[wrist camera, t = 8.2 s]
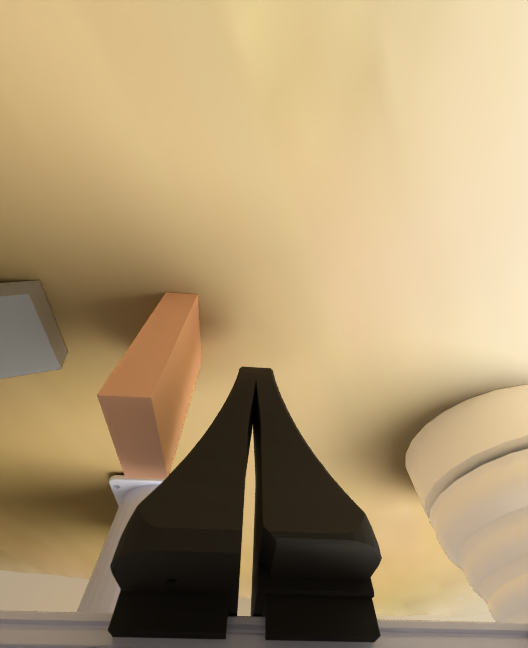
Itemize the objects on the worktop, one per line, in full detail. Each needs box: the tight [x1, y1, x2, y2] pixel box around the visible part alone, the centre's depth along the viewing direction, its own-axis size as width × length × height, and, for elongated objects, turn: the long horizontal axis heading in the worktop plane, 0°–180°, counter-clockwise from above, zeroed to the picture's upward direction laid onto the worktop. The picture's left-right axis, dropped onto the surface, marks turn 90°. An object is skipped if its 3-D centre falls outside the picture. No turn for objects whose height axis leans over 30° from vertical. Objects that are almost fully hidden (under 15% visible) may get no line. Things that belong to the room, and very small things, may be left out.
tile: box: [97, 292, 202, 479], centre depth 13 cm, size 4×2×7 cm, turn 176°
